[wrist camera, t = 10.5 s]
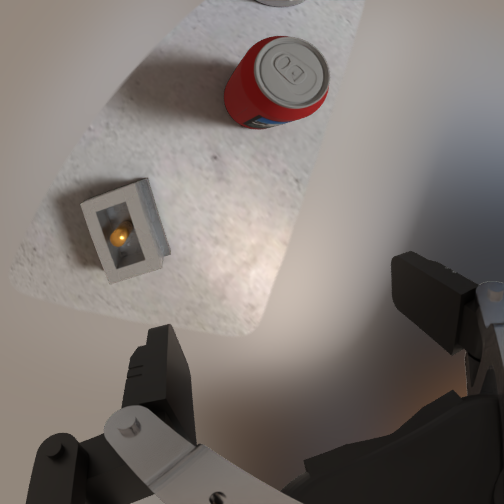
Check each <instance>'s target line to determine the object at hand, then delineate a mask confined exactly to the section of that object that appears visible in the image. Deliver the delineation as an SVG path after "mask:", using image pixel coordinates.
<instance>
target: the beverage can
mask: <svg viewBox="0 0 504 504" xmlns="http://www.w3.org/2000/svg"><path fill="white" fill-rule="evenodd" d="M329 82H330V71H329V67H328V64H327V61H326V59H325V58H324V56H323V55H322V53H321V52H320V51H319V50H318V49H317V48H316V47H315V46H313V45H312V44H311V43H309V42H307V41H305V40H302V39H299V38H295V37H288V36H274V37H269V38H266V39H263V40H261V41H259V42H257V43H256V44H255V45H253V46H252V47H251V48H250V49H249V50H248V52H247V53H246V55H245V56H244V57H243V59H242V60H241V62H240V63H239V65H238V66H237V68H236V69H235V71H234V73H233V74H232V76H231V78H230V79H229V81H228V83H227V85H226V88H225V92H224V102H225V106H226V109H227V111H228V113H229V114H230V116H231V117H232V118H233V119H234V120H235V121H236V122H237V123H239V124H240V125H242V126H244V127H247V128H250V129H266V128H270V127H274V126H278V125H281V124H285V123H288V122H292V121H295V120H298V119H301V118H304V117H307V116H309V115H311V114H312V113H314V112H315V111H316V110H317V109H318V108H319V107H320V106H321V105H322V103H323V102H324V100H325V98H326V96H327V93H328V89H329Z"/></svg>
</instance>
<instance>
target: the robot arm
mask: <svg viewBox="0 0 504 504" xmlns="http://www.w3.org/2000/svg"><path fill="white" fill-rule="evenodd" d="M256 1H258V2H260V3H263V4H266V5H270V6H276V7H288V6H294V5H297V4H300V3H301V2H303V1H305V0H256ZM391 273H392V274H391V275H392V298H393V302H394V304H395V306H396V308H397V309H398V310H399V311H400V312H401V313H402V314H404V315H405V316H406V317H407V318H408V319H410V320H411V321H412V322H413V323H415V324H416V325H417V326H418V327H419V328H420V329H422V330H423V331H424V332H425V333H426V334H427V335H429V336H430V337H431V338H432V339H433V340H434V341H436V342H437V343H438V344H439V345H440V346H441V347H443V348H444V349H445V350H446V351H447V352H448V353H449V354H450V355H454V354H456V353H457V352H459V351H461V350H462V349H465V350H466V354H465V370H466V382H467V396H466V397H462V398H461V397H459V395H458V394H457V393H456V392H455V391H454V390H451V391H450V392H448V393H446V394H445V395H443V396H442V397H440V398H438V399H436V400H435V401H433V402H432V403H430V404H428V405H426V406H424V407H423V408H422V409H420V410H419V411H418V412H417V413H416V414H415V415H414V416H413V417H412V418H411V419H409V420H408V421H407V422H406V423H405V424H403V425H402V426H401V427H400V428H399V429H398V430H396V431H395V432H394V433H392V434H390V435H387V436H383V437H379V438H374V439H370V440H365V441H361V442H356V443H351V444H346V445H343V446H341V447H338V448H336V449H334V450H331V451H328V452H325V453H323V454H320V455H317V456H314V457H312V458H309V459H306V460H304V465H305V470H306V472H305V473H303V474H301V475H300V476H298V477H297V478H295V479H294V480H292V481H291V482H290V483H289V484H287V485H286V486H285V487H284V488H283V489H282V490H281V491H278V490H276V489H274V488H273V487H271V486H269V485H267V484H265V483H264V482H262V481H260V480H258V479H257V478H255V477H253V476H252V475H250V474H248V473H247V472H245V471H243V470H242V469H240V468H239V467H237V466H236V465H234V464H232V463H231V462H229V461H228V460H226V459H224V458H223V457H222V456H220V455H219V454H217V453H216V452H214V451H213V450H211V449H210V448H208V447H207V446H205V445H203V444H198V445H197V442H196V432H195V421H194V411H193V400H192V399H193V398H192V386H191V375H190V370H189V367H188V363H187V361H186V358H185V356H184V354H183V351H182V349H181V346H180V344H179V341H178V339H177V337H176V334H175V332H174V329H173V327H172V325H171V324H167V325H163V326H159V327H155V328H151V329H149V330H148V336H147V342H146V345H144V346H140V347H138V348H137V349H136V351H135V352H134V353H133V355H132V356H131V358H130V363H129V370H128V373H127V380H126V384H125V390H124V395H123V401H122V408H121V409H120V410H118V411H117V412H115V413H114V414H112V416H111V417H110V418H109V419H108V420H107V422H106V424H105V426H104V433H103V434H101V435H99V436H96V437H94V438H91V439H89V440H86V441H83V442H81V443H79V442H78V441H77V440H76V439H75V437H73V436H72V435H71V434H68V433H58V434H55V435H52V436H50V437H49V438H47V439H46V440H45V441H44V442H43V443H42V444H41V445H40V447H39V449H38V451H37V454H36V458H35V462H34V466H33V471H32V475H31V480H30V484H29V489H28V495H27V500H26V504H130V503H133V502H135V501H138V500H141V499H143V498H146V497H148V496H151V495H153V494H156V496H158V497H159V498H160V499H161V500H162V501H163V502H164V503H165V504H504V283H501V282H496V281H489V282H484V283H482V284H480V285H478V284H476V283H474V282H473V281H471V280H469V279H467V278H465V277H464V276H462V275H460V274H458V273H455V271H453V270H451V269H449V268H448V269H447V267H446V266H444V265H442V264H440V263H438V262H435V261H431V260H428V259H426V258H424V257H422V256H420V255H418V254H417V253H415V252H412V251H409V252H406V253H403V254H400V255H397V256H394V257H393V258H392V261H391Z"/></svg>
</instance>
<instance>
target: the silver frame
mask: <svg viewBox="0 0 504 504" xmlns="http://www.w3.org/2000/svg"><path fill="white" fill-rule="evenodd" d="M123 202H126V204H127V207H128V210H129V213H130V216H131V219H132V222H133V225H134V228H135V231H136V234H137V237H138V240H139V243H140V246H141V248H142V252H139V253H136V254H133V255H130V256H127V257H124V258H123V257H122V255H121V252H120V249H119V247H116V246H114V245H113V244H112V243H111V241H110V236H111V234H112V233H113V230H112V227H111V224H110V221H109V218H108V215H107V212H106V208H109V207H111V206H114V205H117V204H120V203H123ZM80 205H81V208H82V211H83V214H84V217H85V220H86V223H87V226H88V229H89V232H90V235H91V237H92V240H93V243H94V246H95V248H96V251H97V254H98V256H99V259H100V261H101V264H102V267H103V269H104V272H105V274H106V277H107V279H108V281H109V284H113V283H116V282H119V281H123V280H126V279H129V278H132V277H135V276H139V275H142V274H145V273H148V272H151V271H155V270H158V269H161V268H162V266H163V260H164V255H163V252H162V249H161V246H160V243H159V240H158V237H157V234H156V231H155V228H154V225H153V222H152V219H151V216H150V212H149V209H148V206H147V203H146V200H145V196H144V193H143V190H142V186H141V183H140V181H138V182H135V183H133V184H130V185H127V186H124V187H121V188H118V189H115V190H113V191H110V192H107V193H104V194H102V195H99V196H96V197H94V198H91V199H89V200H87V201H85V202H83V203H81V204H80Z"/></svg>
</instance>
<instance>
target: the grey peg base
mask: <svg viewBox="0 0 504 504" xmlns="http://www.w3.org/2000/svg"><path fill="white" fill-rule="evenodd" d="M137 182H138V181H137ZM134 183H135V182H134ZM140 183H141V186H142V190H143V193H144V196H145V200H146V203H147V206H148V209H149V212H150V216H151V219H152V222H153V225H154V228H155V231H156V234H157V237H158V240H159V243H160V246H161V249H162V252H163V255H164V256H167V255H170V254H171V250H170V247H169V244H168V241H167V238H166V235H165V232H164V229H163V226H162V223H161V219H160V216H159V213H158V210H157V207H156V203H155V200H154V197H153V193H152V190H151V187H150V183H149V180H148V178H146V179H143V180H140ZM131 184H133V183H131ZM128 185H130V184H128ZM125 186H127V185H125ZM122 187H124V186H122ZM120 188H121V187H120ZM117 189H118V188H117ZM114 190H115V189H114ZM111 191H113V190H111ZM108 192H110V191H108ZM106 193H107V192H106ZM103 194H104V193H103ZM100 195H102V194H100ZM97 196H99V195H97ZM95 197H96V196H95ZM92 198H94V197H92ZM89 199H91V198H89ZM89 199H87V200H89ZM87 200H85V201H87ZM85 201H83V202H85ZM106 212H107V215H108V218H109V221H110V224H111V227H112V230H113V233H112V234H111V236H110V241H111V243H112V244H113V245H114V246H116V247H119V249H120V252H121V255H122V257H123V258H124V257H127V256H130V255H133V254H136V253H139V252H142V248H141V246H140V243H139V240H138V237H137V234H136V231H135V228H134V225H133V222H132V219H131V216H130V213H129V210H128V207H127V204H126V202H123V203H120V204H117V205H114V206H111V207H109V208H106Z"/></svg>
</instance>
